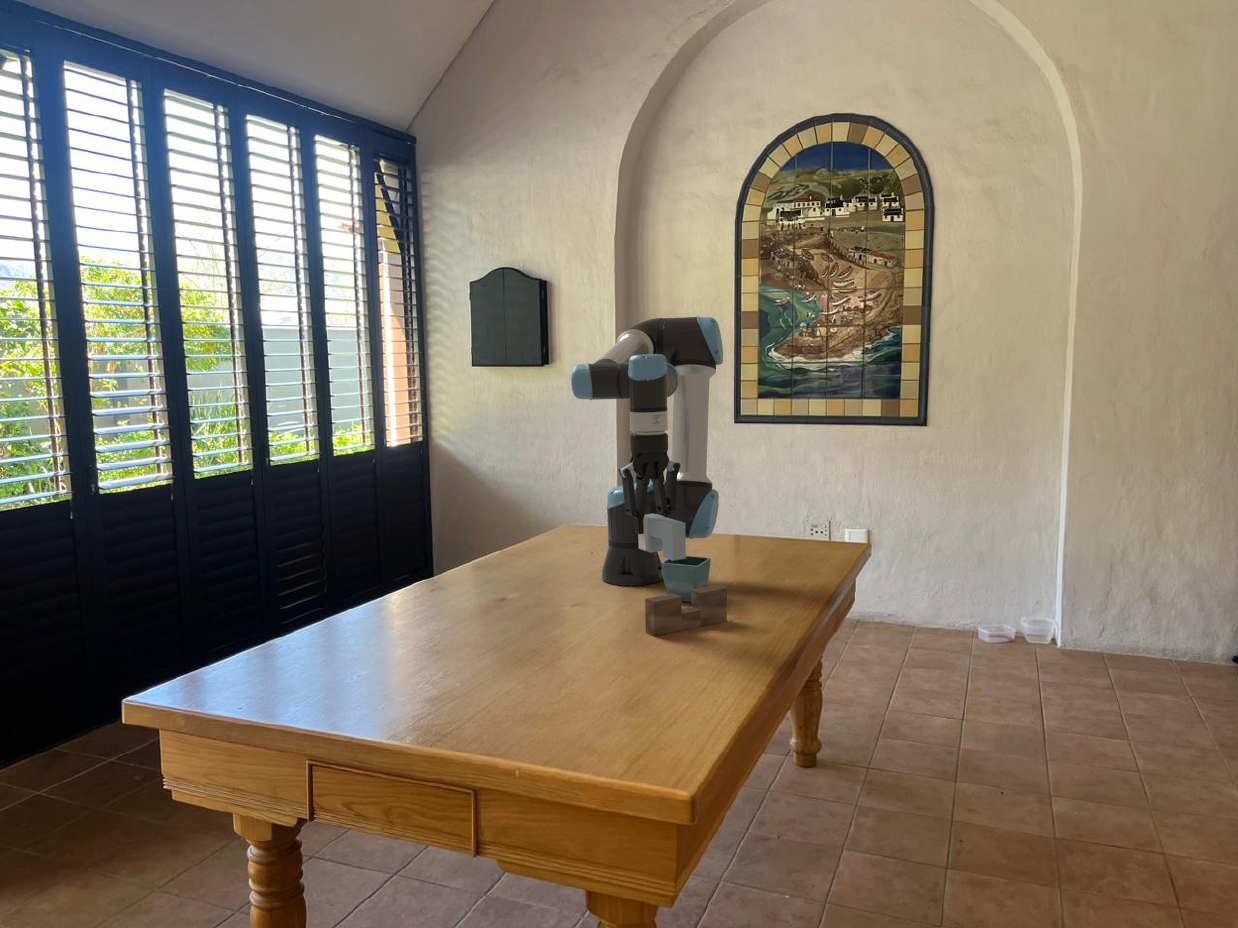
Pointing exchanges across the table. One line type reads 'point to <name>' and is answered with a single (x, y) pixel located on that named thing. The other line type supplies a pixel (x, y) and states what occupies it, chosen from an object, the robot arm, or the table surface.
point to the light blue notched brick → (666, 537)
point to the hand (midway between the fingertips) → (651, 547)
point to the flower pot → (686, 575)
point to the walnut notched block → (685, 611)
